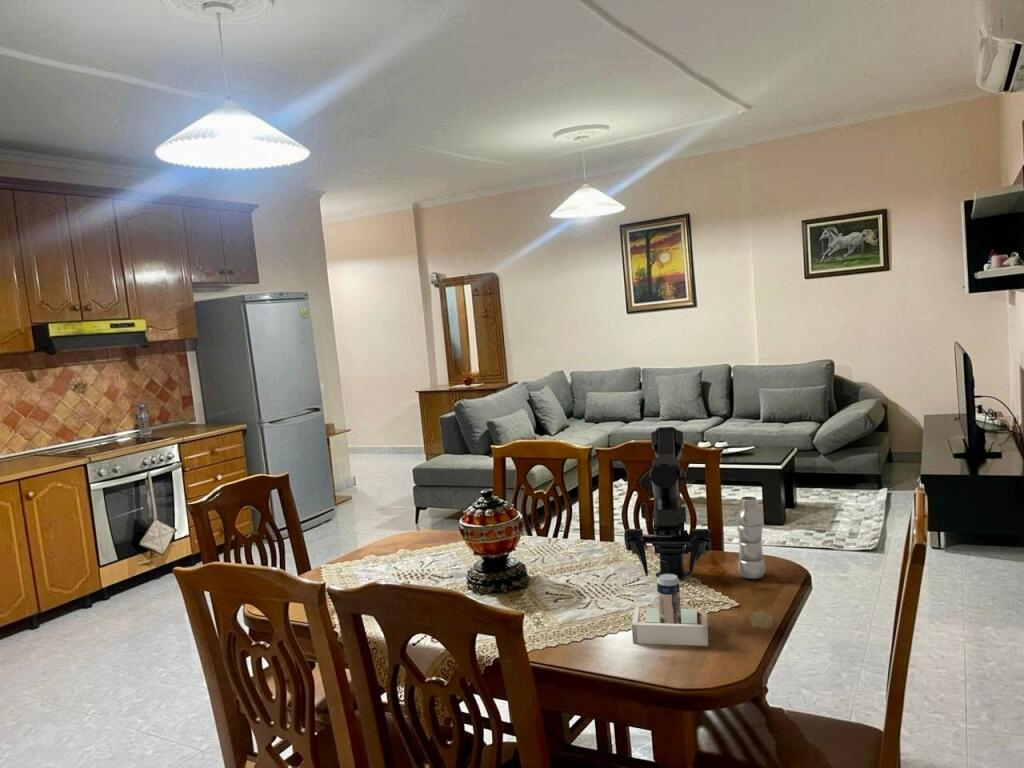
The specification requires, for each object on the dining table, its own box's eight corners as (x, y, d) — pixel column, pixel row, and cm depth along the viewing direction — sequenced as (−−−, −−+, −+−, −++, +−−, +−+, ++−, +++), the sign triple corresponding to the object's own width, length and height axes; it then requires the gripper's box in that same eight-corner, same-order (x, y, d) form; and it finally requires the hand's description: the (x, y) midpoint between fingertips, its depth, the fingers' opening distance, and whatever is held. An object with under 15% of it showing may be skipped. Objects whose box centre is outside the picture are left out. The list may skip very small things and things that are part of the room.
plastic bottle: (738, 581, 180) (735, 501, 178) (738, 571, 186) (735, 494, 185) (766, 582, 178) (763, 502, 176) (765, 572, 185) (762, 494, 183)
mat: (646, 610, 167) (646, 607, 167) (696, 611, 164) (696, 609, 164) (645, 624, 159) (645, 621, 159) (697, 626, 157) (697, 623, 157)
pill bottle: (682, 637, 152) (679, 581, 151) (659, 636, 153) (656, 581, 152) (682, 627, 157) (679, 572, 156) (659, 626, 158) (656, 572, 157)
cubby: (635, 624, 160) (634, 606, 159) (707, 626, 156) (706, 608, 156) (632, 643, 151) (631, 624, 151) (708, 645, 147) (707, 626, 147)
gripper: (622, 493, 164) (621, 558, 154) (709, 492, 159) (713, 559, 150) (627, 518, 172) (626, 581, 162) (709, 518, 168) (713, 582, 158)
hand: (668, 575), depth 158 cm, fingers open, 9 cm apart
